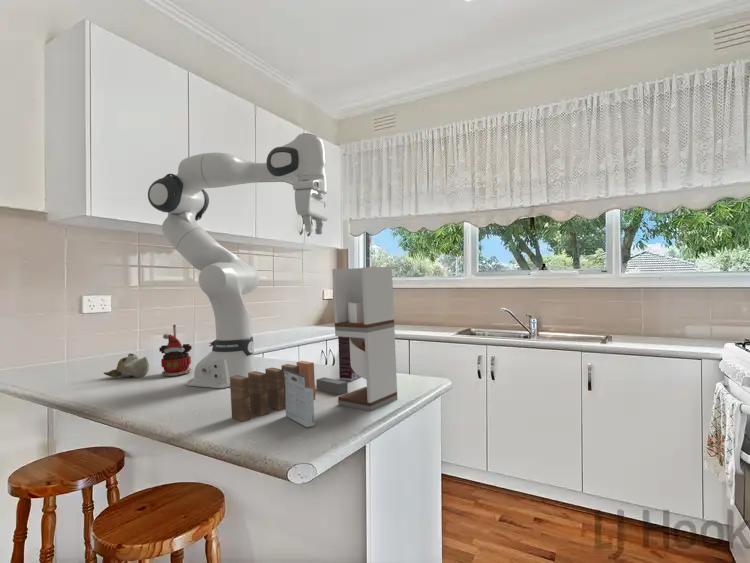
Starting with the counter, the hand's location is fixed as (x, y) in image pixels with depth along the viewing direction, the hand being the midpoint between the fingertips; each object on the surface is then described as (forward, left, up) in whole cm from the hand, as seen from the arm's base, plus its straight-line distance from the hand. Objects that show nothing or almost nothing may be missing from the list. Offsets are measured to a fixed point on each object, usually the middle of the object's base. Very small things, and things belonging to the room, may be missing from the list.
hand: (314, 233), depth 135 cm
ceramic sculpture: (-75, +7, -47) cm, 89 cm away
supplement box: (+8, +8, -47) cm, 48 cm away
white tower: (+19, -17, -47) cm, 54 cm away
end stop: (+6, -8, -47) cm, 48 cm away
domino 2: (-6, -29, -47) cm, 55 cm away
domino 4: (-1, -20, -47) cm, 51 cm away
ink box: (+7, -33, -47) cm, 58 cm away
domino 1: (-9, -33, -47) cm, 58 cm away
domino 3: (-4, -24, -47) cm, 53 cm away
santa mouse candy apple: (-59, +11, -47) cm, 76 cm away
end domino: (+1, -16, -47) cm, 49 cm away
